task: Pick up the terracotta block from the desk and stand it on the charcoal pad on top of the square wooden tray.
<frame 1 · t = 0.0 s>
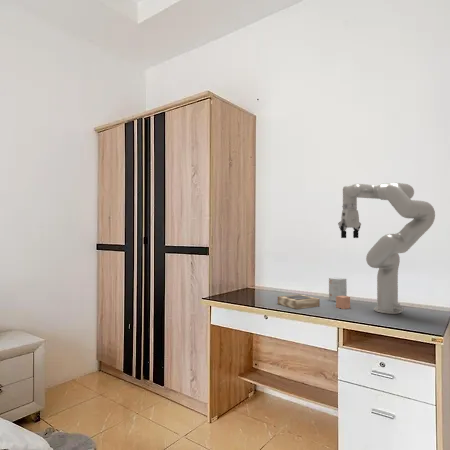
hand: (349, 237, 204), 37 cm above the table, tool pointing down, fingers open, 9 cm apart
terracotta block: (343, 307, 191), on the table
small box: (337, 301, 211), on the table
square wooden tray: (298, 304, 198), on the table
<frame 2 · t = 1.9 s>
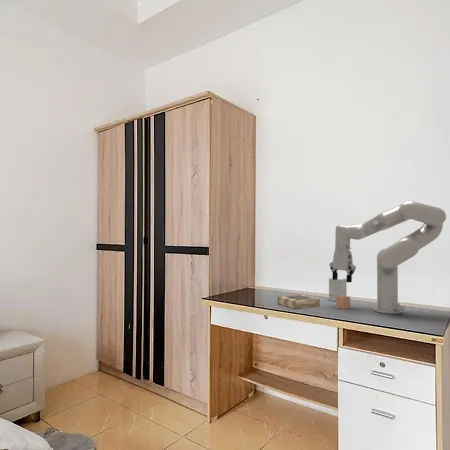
hand: (341, 280, 192), 14 cm above the table, tool pointing down, fingers open, 9 cm apart
nothing on the table moved.
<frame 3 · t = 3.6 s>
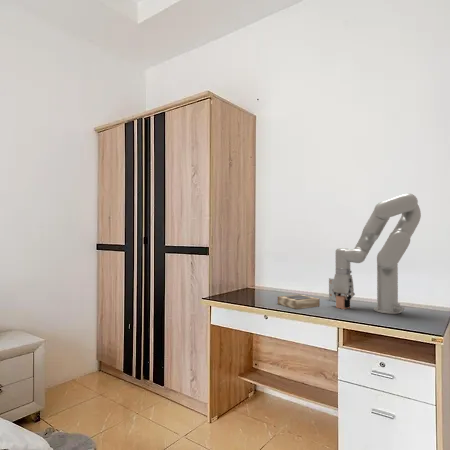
hand: (343, 306, 191), 1 cm above the table, tool pointing down, fingers closed on terracotta block, 5 cm apart
terracotta block: (343, 307, 191), on the table, touching gripper
everything else where it was.
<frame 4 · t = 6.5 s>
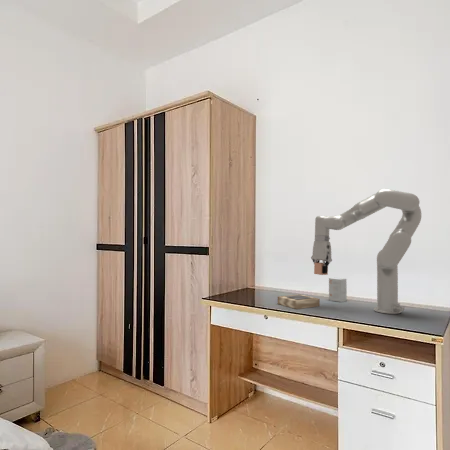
hand: (320, 272, 195), 18 cm above the table, tool pointing down, fingers closed on terracotta block, 5 cm apart
terracotta block: (320, 274, 195), point 17 cm above the table, touching gripper
everything else where it was.
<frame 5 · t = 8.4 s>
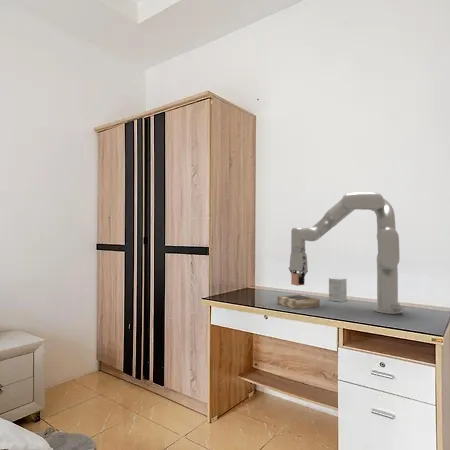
hand: (297, 283, 198), 12 cm above the table, tool pointing down, fingers closed on terracotta block, 5 cm apart
terracotta block: (297, 284, 198), point 11 cm above the table, touching gripper
everything else where it was.
when the fingers open (7 cm above the table, at t = 9.7 s): terracotta block drops 2 cm, resting on square wooden tray.
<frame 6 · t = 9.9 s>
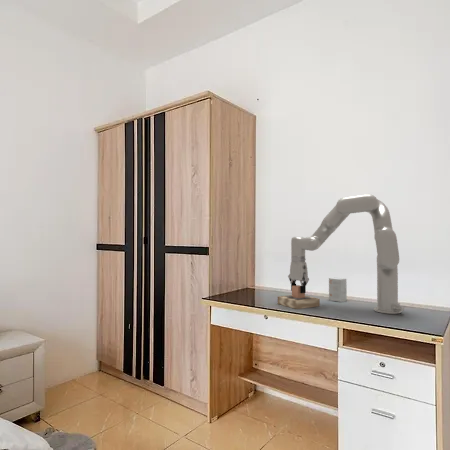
hand: (298, 291, 198), 7 cm above the table, tool pointing down, fingers open, 7 cm apart
terracotta block: (298, 297, 198), point 4 cm above the table, touching square wooden tray
everything else where it was.
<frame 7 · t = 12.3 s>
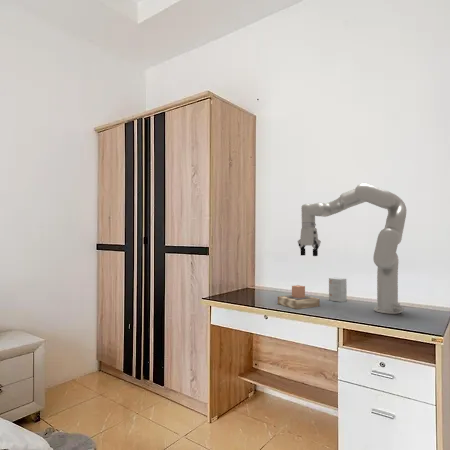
hand: (309, 255, 206), 26 cm above the table, tool pointing down, fingers open, 9 cm apart
nothing on the table moved.
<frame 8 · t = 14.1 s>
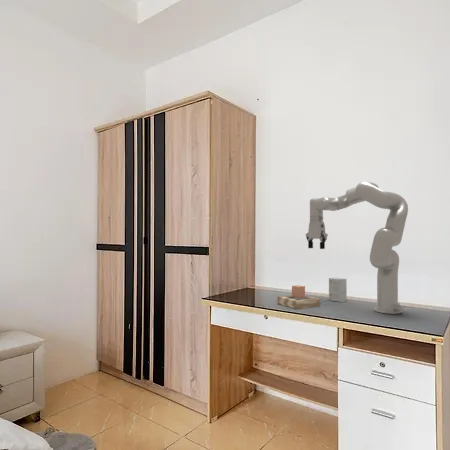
hand: (316, 248, 213), 30 cm above the table, tool pointing down, fingers open, 9 cm apart
nothing on the table moved.
at the end: terracotta block inside the target area on the square wooden tray (0.1 cm from its centre), point 4.3 cm above the square wooden tray's base; terracotta block tilted 0°; the gripper is holding nothing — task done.
